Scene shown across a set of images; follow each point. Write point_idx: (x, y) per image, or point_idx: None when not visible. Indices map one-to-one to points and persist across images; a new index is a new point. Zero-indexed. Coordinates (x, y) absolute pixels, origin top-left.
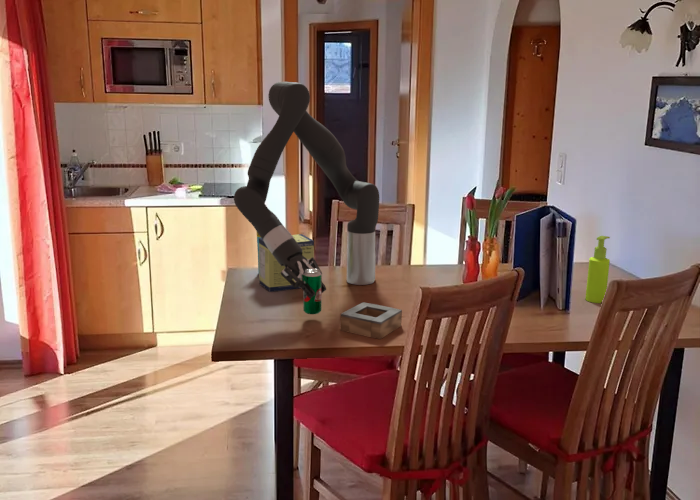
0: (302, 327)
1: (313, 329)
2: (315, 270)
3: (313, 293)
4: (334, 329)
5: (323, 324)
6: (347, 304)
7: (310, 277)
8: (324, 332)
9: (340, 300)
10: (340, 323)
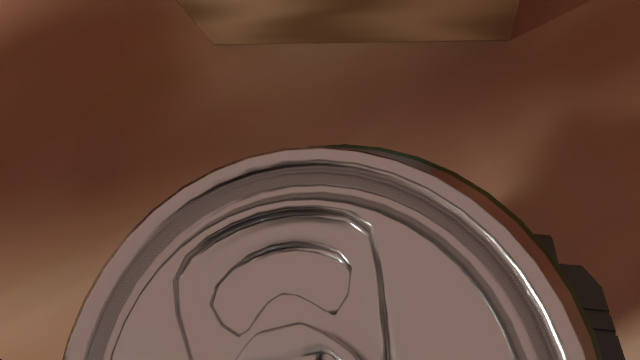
0: (629, 322)
1: (614, 215)
2: (188, 349)
3: (551, 243)
4: (517, 82)
5: None
6: (5, 260)
7: (580, 321)
8: (621, 109)
9: None
10: (516, 11)
